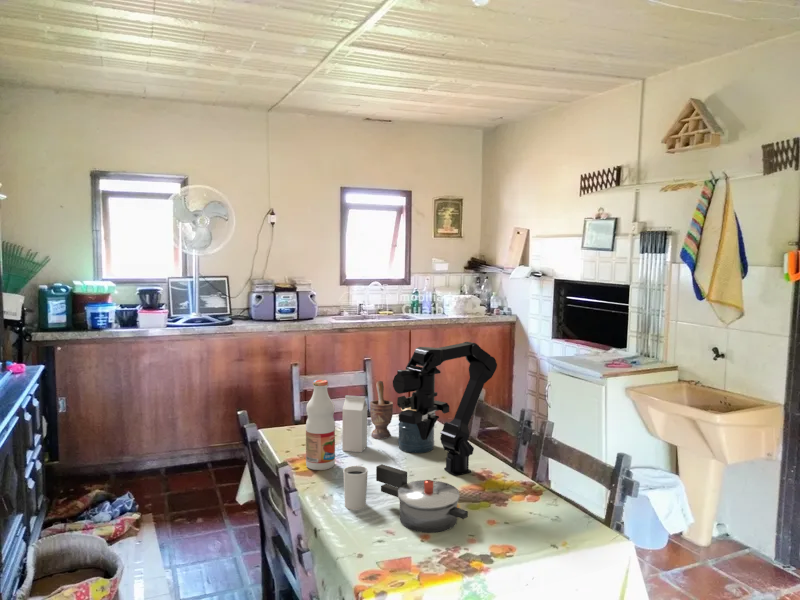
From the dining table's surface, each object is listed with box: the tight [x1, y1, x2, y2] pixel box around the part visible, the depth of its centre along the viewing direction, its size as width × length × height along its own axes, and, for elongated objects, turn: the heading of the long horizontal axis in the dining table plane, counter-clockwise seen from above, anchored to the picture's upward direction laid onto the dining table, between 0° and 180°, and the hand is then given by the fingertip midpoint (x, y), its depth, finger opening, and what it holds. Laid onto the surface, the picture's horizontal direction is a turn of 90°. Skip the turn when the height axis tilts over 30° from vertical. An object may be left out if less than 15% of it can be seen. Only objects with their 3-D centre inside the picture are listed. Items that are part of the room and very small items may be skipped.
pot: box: [380, 483, 469, 534], centre depth 157 cm, size 15×27×6 cm, turn 51°
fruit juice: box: [305, 379, 336, 471], centre depth 193 cm, size 9×9×28 cm
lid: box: [375, 464, 460, 510], centre depth 158 cm, size 16×25×4 cm, turn 52°
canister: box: [397, 407, 436, 454], centre depth 212 cm, size 13×13×18 cm
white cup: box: [342, 465, 369, 511], centre depth 164 cm, size 7×7×10 cm
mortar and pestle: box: [369, 380, 394, 440], centre depth 226 cm, size 12×9×20 cm
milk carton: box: [341, 395, 368, 453], centre depth 210 cm, size 7×7×19 cm
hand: (424, 439), depth 181 cm, fingers closed
